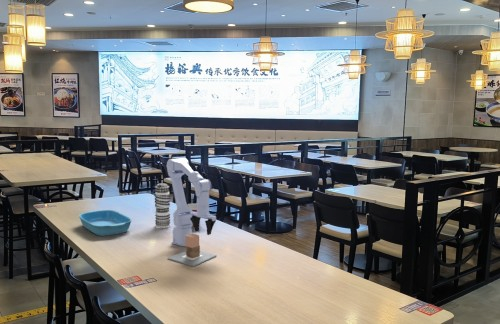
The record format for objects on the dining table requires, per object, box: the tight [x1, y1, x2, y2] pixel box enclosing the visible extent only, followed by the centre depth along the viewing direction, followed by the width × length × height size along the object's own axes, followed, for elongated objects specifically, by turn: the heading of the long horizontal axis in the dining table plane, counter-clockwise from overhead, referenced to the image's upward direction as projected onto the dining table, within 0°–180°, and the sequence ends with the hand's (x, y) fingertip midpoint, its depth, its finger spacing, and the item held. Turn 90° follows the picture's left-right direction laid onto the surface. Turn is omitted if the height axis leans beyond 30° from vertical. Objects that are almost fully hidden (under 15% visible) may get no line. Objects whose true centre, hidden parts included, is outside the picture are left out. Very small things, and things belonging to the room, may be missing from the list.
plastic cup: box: [187, 203, 201, 228], centre depth 251 cm, size 11×11×12 cm
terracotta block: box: [185, 232, 200, 248], centre depth 197 cm, size 4×4×5 cm
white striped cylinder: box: [154, 182, 171, 229], centre depth 248 cm, size 9×9×25 cm
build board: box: [167, 250, 217, 268], centre depth 198 cm, size 16×16×1 cm
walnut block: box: [185, 244, 201, 258], centre depth 198 cm, size 4×4×5 cm
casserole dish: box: [78, 209, 133, 237], centre depth 243 cm, size 37×22×7 cm, turn 41°
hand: (202, 232), depth 203 cm, fingers open, 7 cm apart
